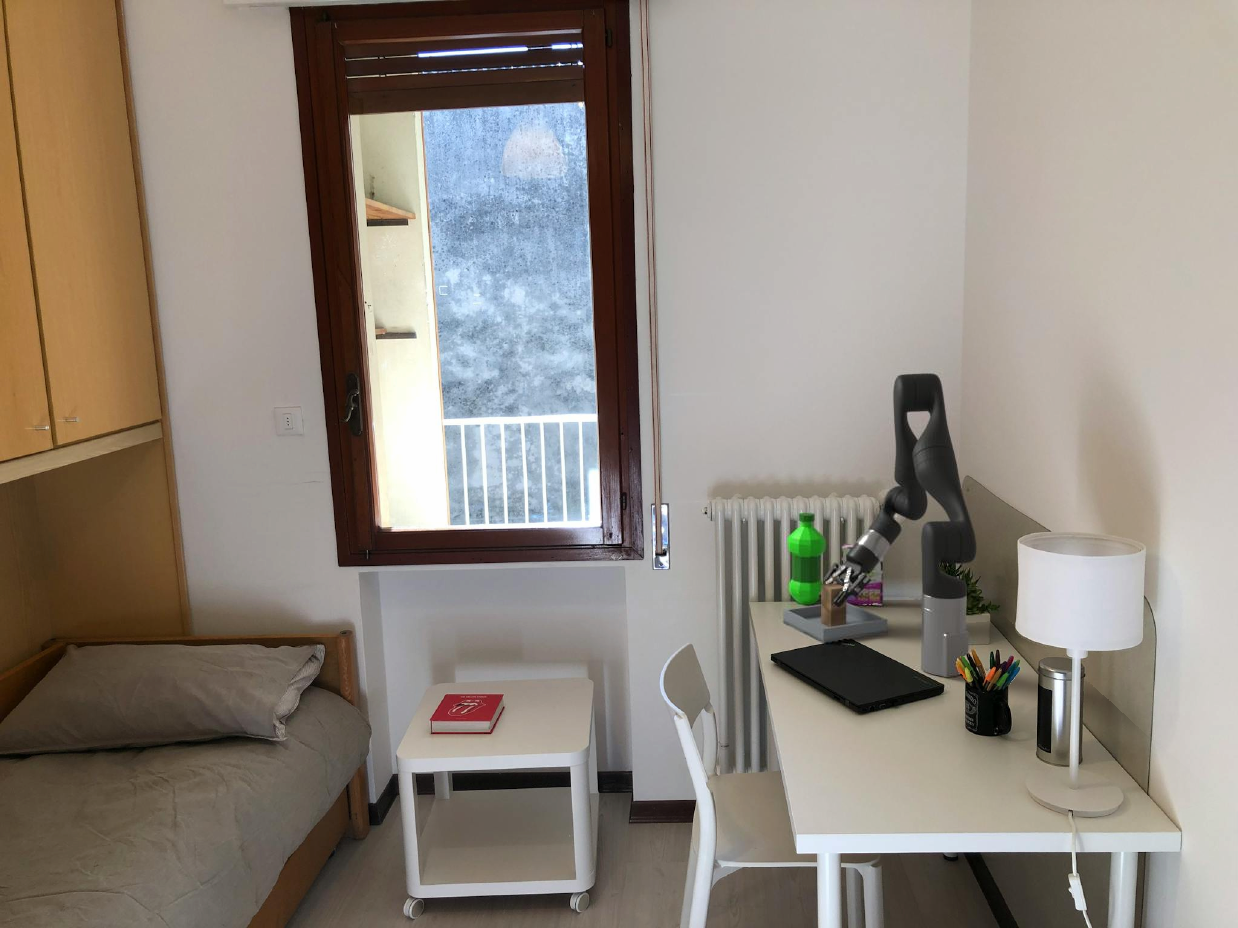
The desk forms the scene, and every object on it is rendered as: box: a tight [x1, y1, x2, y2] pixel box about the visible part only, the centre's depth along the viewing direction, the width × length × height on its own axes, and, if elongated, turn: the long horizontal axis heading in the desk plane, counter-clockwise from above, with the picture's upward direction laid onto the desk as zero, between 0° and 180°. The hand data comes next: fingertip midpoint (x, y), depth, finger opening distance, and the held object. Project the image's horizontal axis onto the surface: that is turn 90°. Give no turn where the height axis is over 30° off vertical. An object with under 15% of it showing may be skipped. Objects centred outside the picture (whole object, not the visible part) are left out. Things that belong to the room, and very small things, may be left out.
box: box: [782, 603, 888, 644], centre depth 239 cm, size 19×19×4 cm
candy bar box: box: [841, 543, 884, 606], centre depth 261 cm, size 11×5×16 cm, turn 73°
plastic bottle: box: [787, 512, 827, 605], centre depth 263 cm, size 10×10×25 cm
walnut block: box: [820, 582, 846, 627], centre depth 239 cm, size 4×4×10 cm
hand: (828, 601), depth 238 cm, fingers open, 6 cm apart
